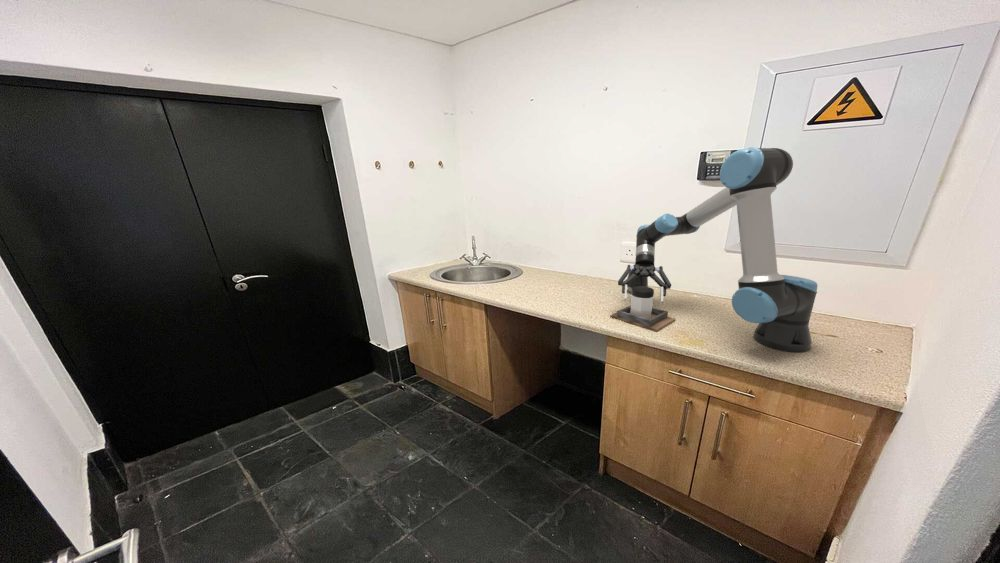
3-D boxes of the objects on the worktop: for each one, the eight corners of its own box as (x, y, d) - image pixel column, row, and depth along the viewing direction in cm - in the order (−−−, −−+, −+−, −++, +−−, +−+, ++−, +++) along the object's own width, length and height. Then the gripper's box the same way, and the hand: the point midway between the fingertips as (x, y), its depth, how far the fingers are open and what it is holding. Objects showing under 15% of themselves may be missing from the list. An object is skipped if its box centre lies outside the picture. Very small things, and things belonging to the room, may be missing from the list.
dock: (675, 321, 134) (676, 313, 133) (656, 332, 125) (657, 323, 124) (629, 308, 149) (630, 301, 148) (610, 317, 140) (610, 309, 139)
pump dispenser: (648, 295, 164) (651, 266, 160) (625, 294, 168) (628, 265, 163) (646, 289, 173) (649, 261, 169) (625, 288, 177) (627, 260, 173)
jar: (650, 322, 132) (653, 293, 128) (628, 319, 135) (631, 291, 132) (651, 314, 139) (654, 286, 136) (630, 311, 143) (633, 284, 139)
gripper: (675, 263, 142) (676, 308, 133) (614, 260, 151) (610, 302, 142) (678, 253, 136) (679, 299, 127) (614, 251, 145) (610, 294, 136)
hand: (643, 301), depth 134 cm, fingers open, 13 cm apart
